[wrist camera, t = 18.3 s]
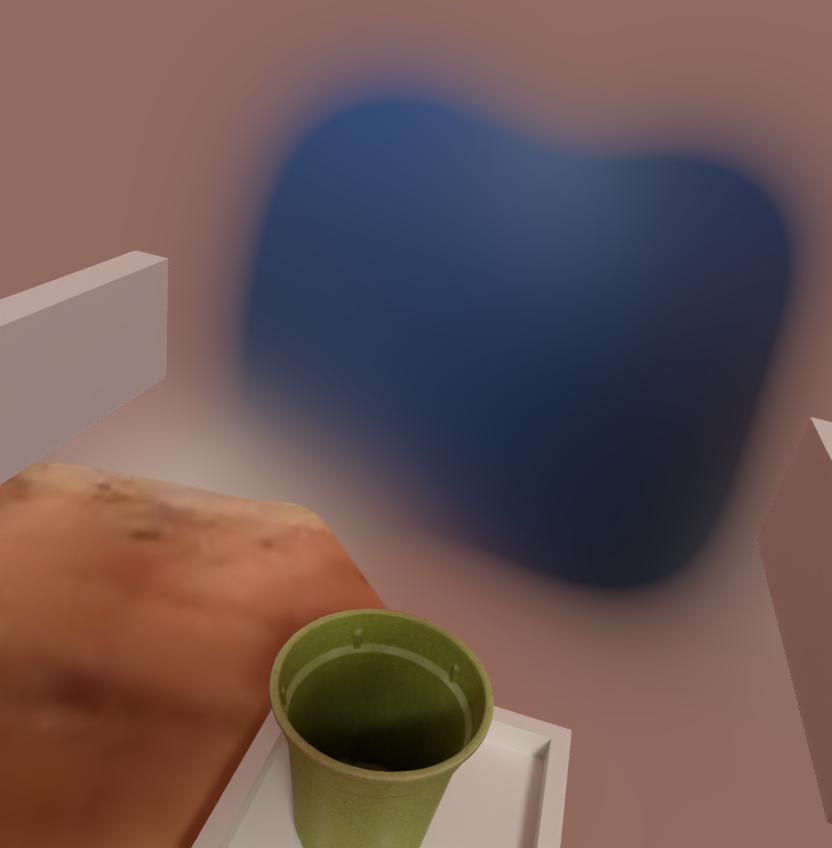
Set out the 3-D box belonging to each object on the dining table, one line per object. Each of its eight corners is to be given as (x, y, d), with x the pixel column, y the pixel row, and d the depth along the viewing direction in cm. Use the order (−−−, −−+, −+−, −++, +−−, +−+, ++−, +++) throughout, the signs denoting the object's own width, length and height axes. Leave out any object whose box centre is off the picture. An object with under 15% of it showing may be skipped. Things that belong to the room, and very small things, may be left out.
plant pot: (216, 870, 33) (225, 724, 29) (308, 713, 41) (325, 583, 37) (423, 960, 31) (463, 816, 27) (477, 776, 39) (513, 646, 35)
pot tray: (161, 935, 31) (162, 897, 30) (303, 680, 44) (307, 647, 43) (525, 1078, 29) (540, 1041, 28) (560, 762, 42) (571, 730, 41)
